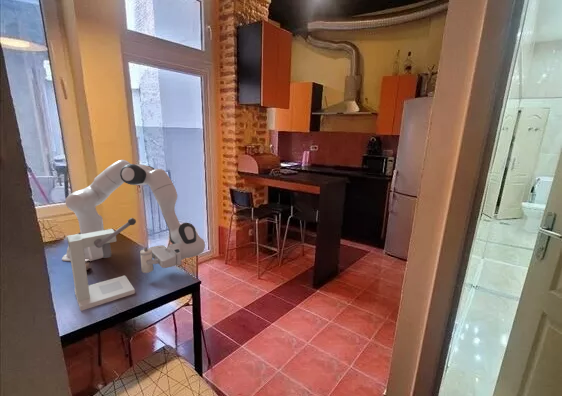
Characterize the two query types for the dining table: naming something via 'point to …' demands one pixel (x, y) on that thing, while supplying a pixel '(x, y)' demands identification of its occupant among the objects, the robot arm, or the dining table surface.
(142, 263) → the white lidded bottle
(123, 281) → the press
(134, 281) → the dining table surface
